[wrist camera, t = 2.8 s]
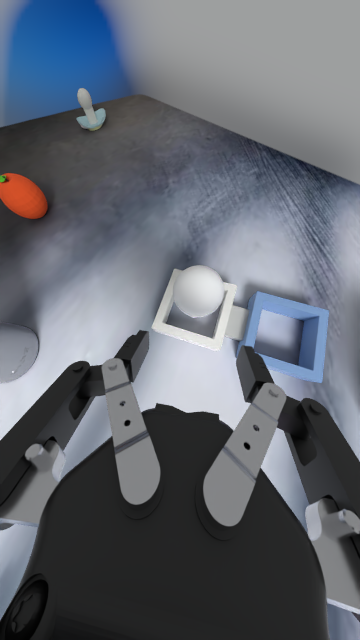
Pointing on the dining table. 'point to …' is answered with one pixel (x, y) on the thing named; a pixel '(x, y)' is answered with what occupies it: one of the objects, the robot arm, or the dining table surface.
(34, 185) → the clementine
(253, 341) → the socket frame
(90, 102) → the pacifier
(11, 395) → the dining table surface
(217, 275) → the lightbulb
